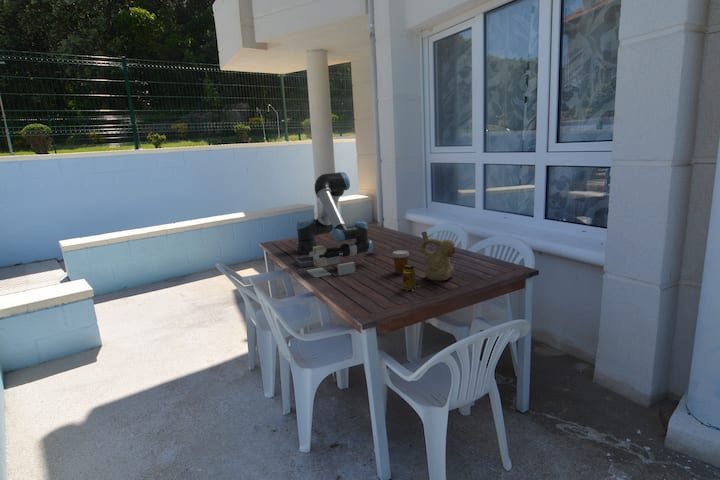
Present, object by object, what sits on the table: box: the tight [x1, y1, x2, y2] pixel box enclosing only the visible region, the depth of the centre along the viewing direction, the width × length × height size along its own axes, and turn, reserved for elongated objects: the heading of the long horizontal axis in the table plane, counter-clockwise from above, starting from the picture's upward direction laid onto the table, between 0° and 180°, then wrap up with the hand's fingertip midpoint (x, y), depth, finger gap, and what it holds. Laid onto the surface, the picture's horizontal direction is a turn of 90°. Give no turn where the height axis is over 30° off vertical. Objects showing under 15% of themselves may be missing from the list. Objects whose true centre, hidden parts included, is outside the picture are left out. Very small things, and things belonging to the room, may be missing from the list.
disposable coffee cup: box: [392, 249, 410, 275], centre depth 242 cm, size 10×10×12 cm
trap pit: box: [294, 255, 316, 269], centre depth 272 cm, size 14×14×3 cm
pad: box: [305, 267, 332, 278], centre depth 252 cm, size 16×10×1 cm, turn 25°
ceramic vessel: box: [420, 230, 457, 282], centre depth 228 cm, size 17×20×25 cm
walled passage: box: [327, 256, 356, 276], centre depth 257 cm, size 26×10×6 cm, turn 25°
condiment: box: [402, 264, 422, 292], centre depth 216 cm, size 7×8×12 cm
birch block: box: [313, 244, 328, 268], centre depth 250 cm, size 6×6×11 cm
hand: (311, 255), depth 248 cm, fingers closed on birch block, 6 cm apart
